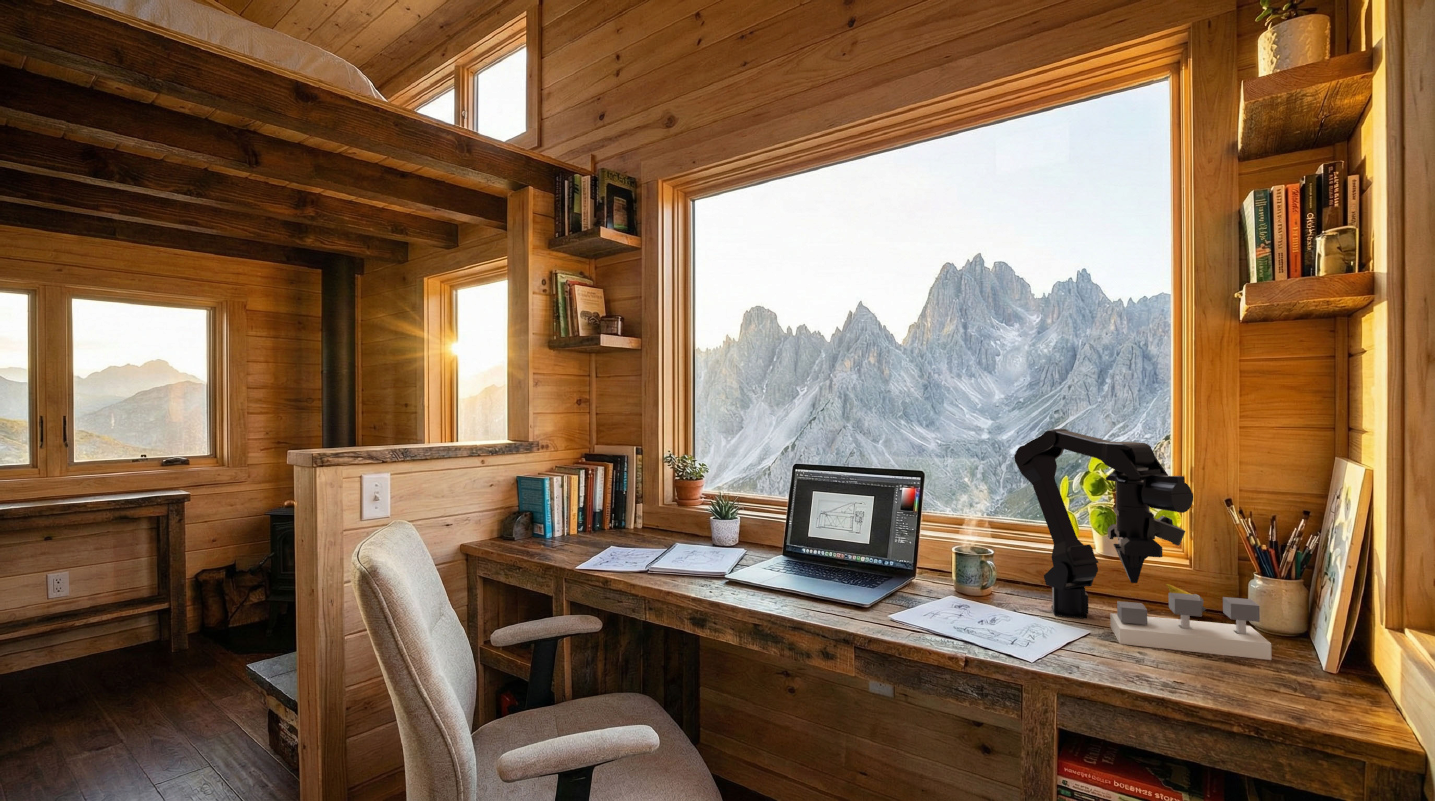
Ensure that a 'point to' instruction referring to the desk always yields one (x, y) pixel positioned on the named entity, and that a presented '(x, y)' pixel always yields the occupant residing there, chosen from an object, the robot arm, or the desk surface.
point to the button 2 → (1241, 612)
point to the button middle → (1185, 607)
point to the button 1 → (1132, 612)
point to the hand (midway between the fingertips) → (1133, 582)
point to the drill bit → (1175, 590)
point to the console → (1192, 637)
